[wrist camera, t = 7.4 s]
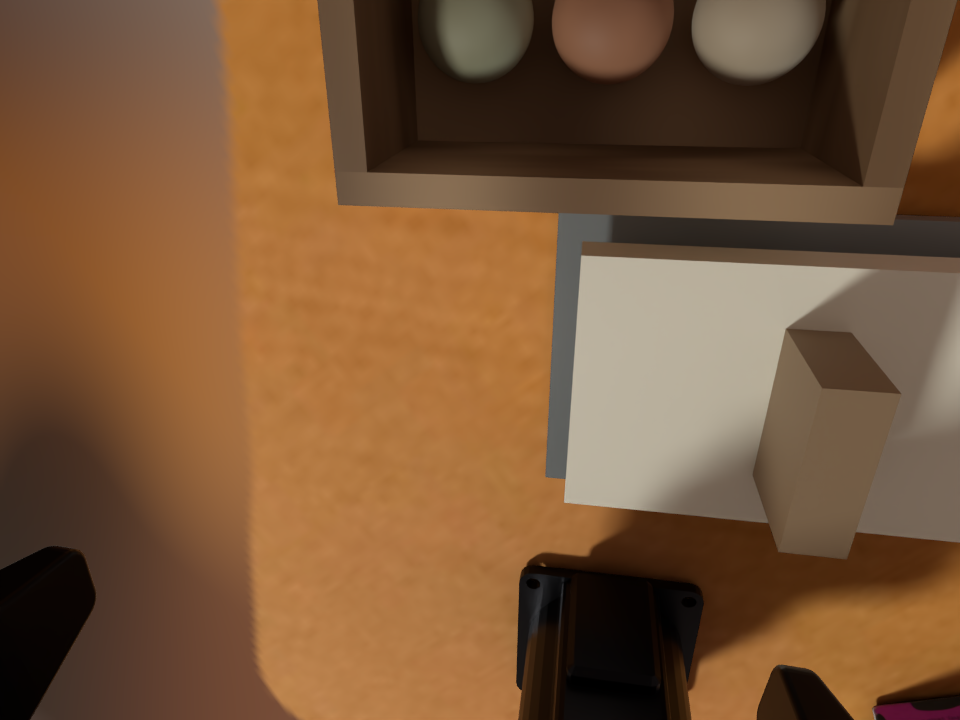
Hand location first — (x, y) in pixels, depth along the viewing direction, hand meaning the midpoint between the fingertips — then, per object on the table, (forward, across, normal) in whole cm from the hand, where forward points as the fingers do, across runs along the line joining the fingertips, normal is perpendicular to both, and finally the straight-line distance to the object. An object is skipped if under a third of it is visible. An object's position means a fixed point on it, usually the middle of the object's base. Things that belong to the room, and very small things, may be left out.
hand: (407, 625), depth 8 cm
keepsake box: (+13, -2, -7) cm, 15 cm away
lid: (+11, -8, +2) cm, 14 cm away
